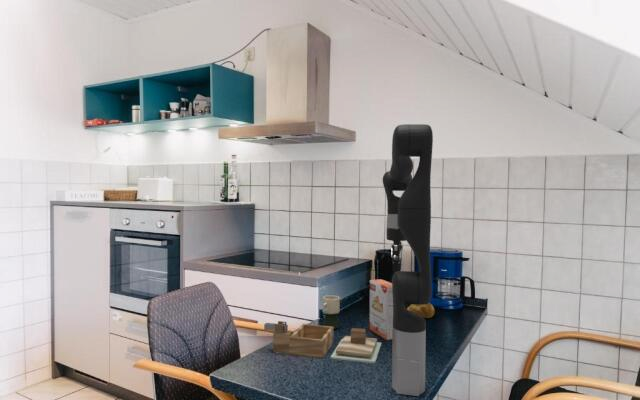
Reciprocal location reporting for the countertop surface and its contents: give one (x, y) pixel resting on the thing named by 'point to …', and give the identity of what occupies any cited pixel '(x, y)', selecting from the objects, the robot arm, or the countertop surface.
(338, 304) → the character mug
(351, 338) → the lid
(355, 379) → the countertop surface
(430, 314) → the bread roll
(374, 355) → the mat
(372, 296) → the cracker box
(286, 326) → the sliding bolt
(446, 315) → the countertop surface
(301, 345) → the wooden box
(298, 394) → the countertop surface
